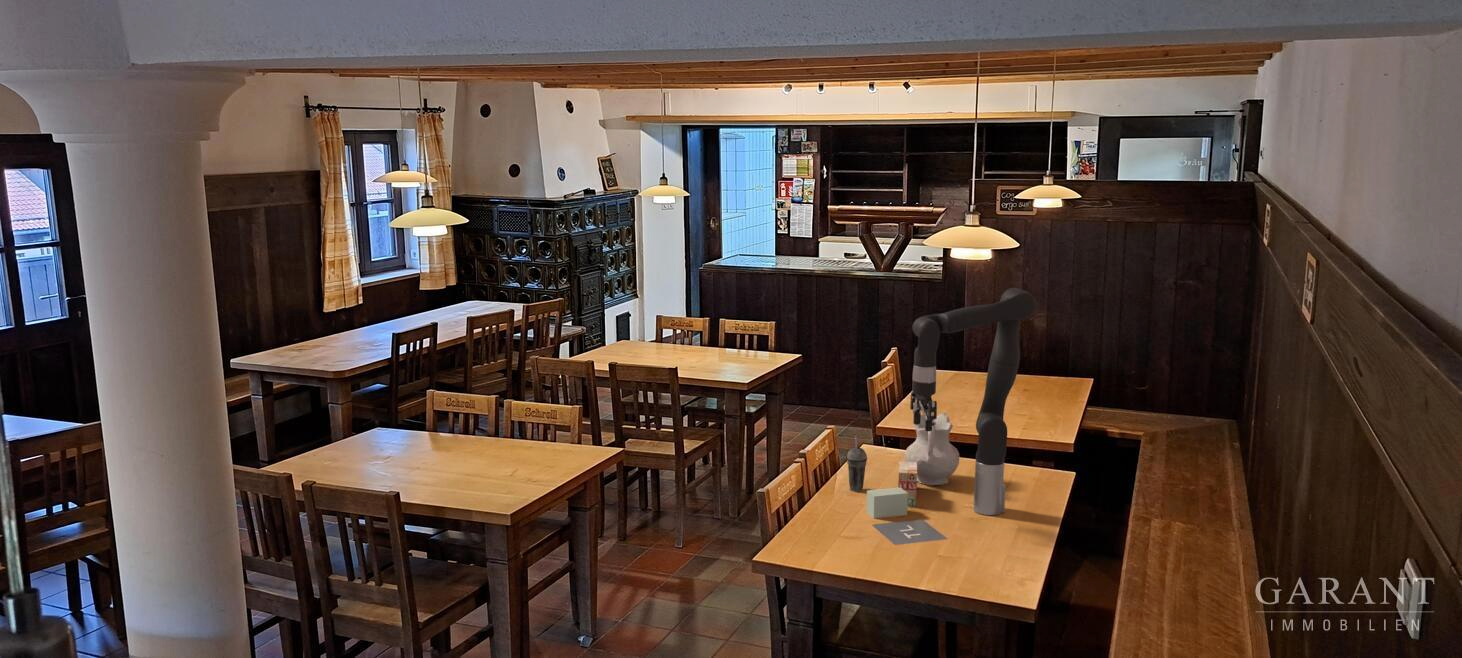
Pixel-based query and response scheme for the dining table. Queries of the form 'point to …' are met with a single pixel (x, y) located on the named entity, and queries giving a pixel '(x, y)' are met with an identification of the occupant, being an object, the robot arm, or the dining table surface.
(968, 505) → the dining table surface
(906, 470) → the stack of blocks
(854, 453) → the beverage cup
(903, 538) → the gray tile
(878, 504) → the sage block
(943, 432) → the ceramic pitcher
